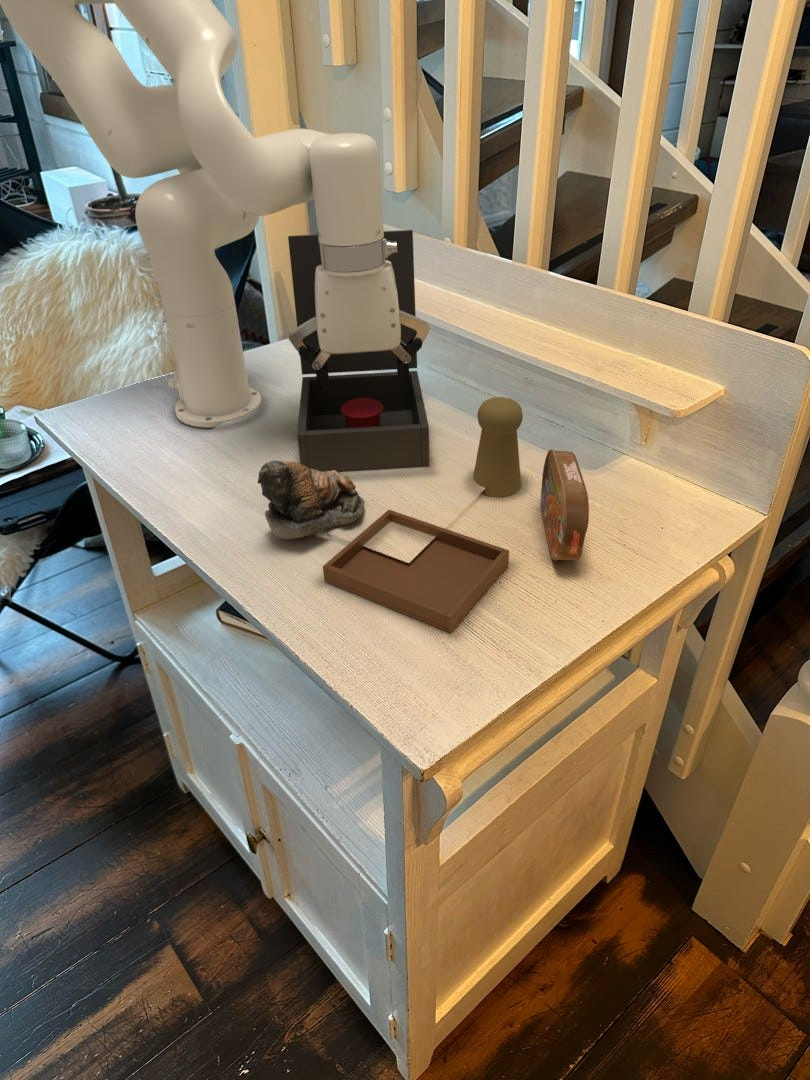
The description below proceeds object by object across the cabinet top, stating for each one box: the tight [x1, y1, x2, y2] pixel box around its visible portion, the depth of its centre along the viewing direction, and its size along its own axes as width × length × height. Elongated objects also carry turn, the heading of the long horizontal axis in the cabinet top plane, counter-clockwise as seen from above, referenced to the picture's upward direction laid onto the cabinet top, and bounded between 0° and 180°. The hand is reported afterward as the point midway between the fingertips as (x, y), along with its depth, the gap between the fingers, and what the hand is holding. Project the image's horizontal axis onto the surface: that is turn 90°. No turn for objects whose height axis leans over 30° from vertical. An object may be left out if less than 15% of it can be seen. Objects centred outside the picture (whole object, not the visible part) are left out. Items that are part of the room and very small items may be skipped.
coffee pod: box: [341, 398, 383, 428], centre depth 100 cm, size 6×6×4 cm
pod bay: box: [296, 370, 430, 473], centre depth 100 cm, size 17×16×6 cm
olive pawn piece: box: [472, 396, 524, 498], centre depth 90 cm, size 6×6×11 cm
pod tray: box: [322, 509, 510, 634], centre depth 79 cm, size 15×12×2 cm
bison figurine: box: [257, 460, 366, 540], centre depth 84 cm, size 12×7×10 cm, turn 124°
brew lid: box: [287, 229, 418, 376], centre depth 103 cm, size 18×16×5 cm
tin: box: [540, 449, 590, 561], centre depth 82 cm, size 15×3×8 cm, turn 178°
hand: (364, 391), depth 98 cm, fingers open, 9 cm apart
